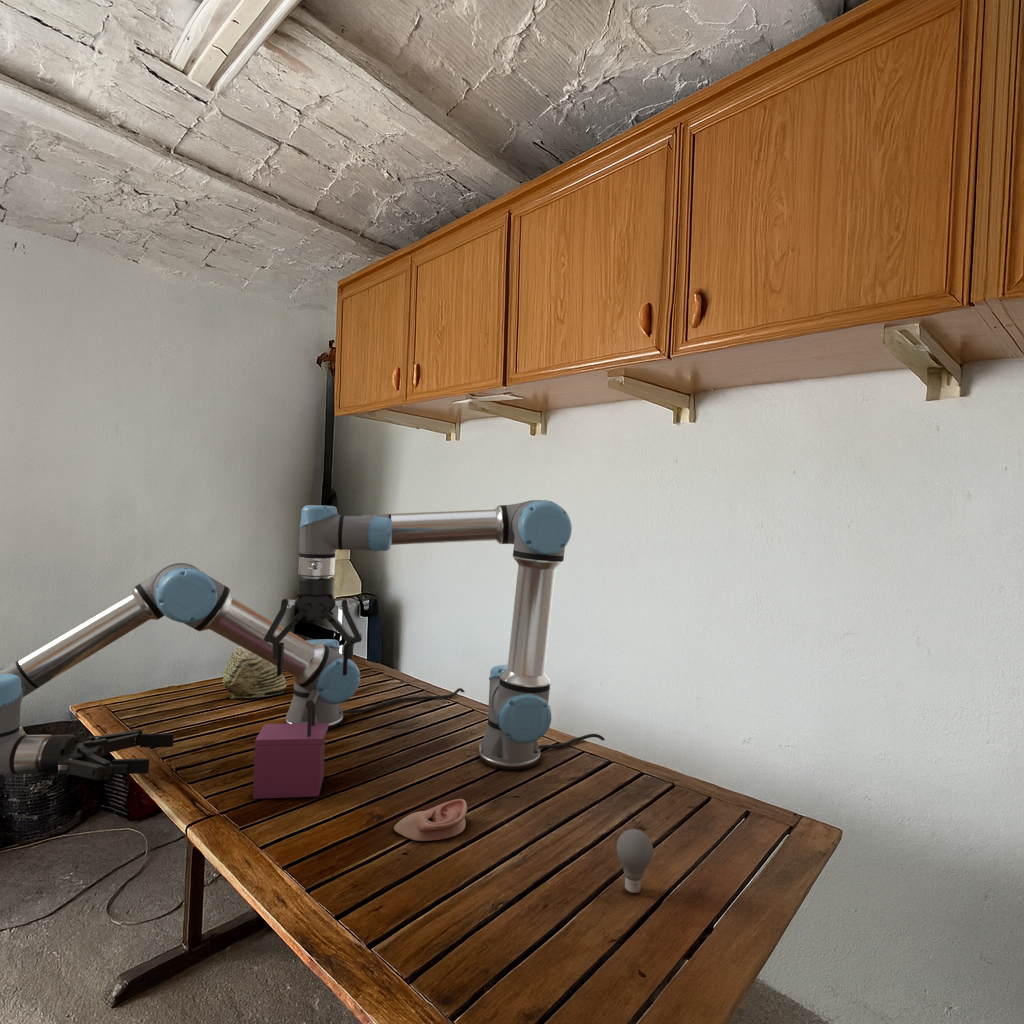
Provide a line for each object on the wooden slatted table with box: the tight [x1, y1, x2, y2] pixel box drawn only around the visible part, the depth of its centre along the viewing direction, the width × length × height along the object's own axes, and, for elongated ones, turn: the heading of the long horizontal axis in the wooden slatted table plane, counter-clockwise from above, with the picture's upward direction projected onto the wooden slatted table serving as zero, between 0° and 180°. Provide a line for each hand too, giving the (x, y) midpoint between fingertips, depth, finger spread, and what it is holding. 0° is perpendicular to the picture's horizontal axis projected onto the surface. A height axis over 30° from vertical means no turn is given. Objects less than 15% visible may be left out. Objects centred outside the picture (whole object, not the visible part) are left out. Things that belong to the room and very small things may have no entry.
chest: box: [252, 739, 326, 800], centre depth 137 cm, size 13×9×11 cm
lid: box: [254, 690, 329, 746], centre depth 137 cm, size 14×9×9 cm
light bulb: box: [615, 828, 654, 894], centre depth 106 cm, size 6×6×10 cm
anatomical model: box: [393, 798, 468, 842], centre depth 123 cm, size 13×4×12 cm
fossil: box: [222, 646, 288, 699], centre depth 198 cm, size 9×18×15 cm, turn 132°
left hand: (161, 752), depth 133 cm, fingers open, 13 cm apart
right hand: (312, 674), depth 137 cm, fingers open, 13 cm apart
